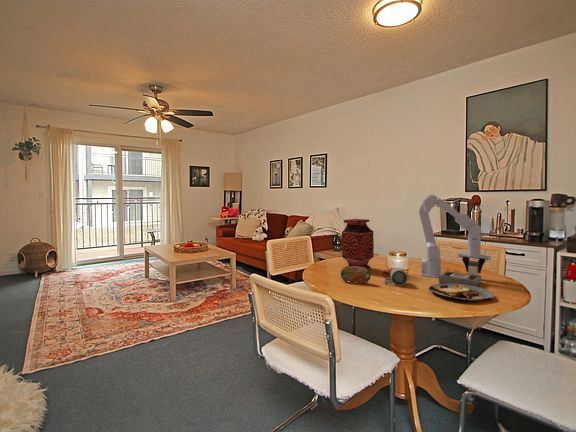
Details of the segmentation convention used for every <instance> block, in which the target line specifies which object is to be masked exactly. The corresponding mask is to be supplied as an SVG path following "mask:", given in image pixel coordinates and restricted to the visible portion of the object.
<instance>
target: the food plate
mask: <svg viewBox="0 0 576 432" xmlns="http://www.w3.org/2000/svg"><path fill="white" fill-rule="evenodd" d="M428 290H429V291H431V292H432V293H434V294H437V295H438V296H442V297H445V298H449V299H455V300H460V301H461V300H462V301H465V300H466V301H468V302H469V301H470V302H481V301H483V300H484V301H485V300H487V299H490V298H491V299H493V298H495V295H494V294H493V292H492V291H490V290H488V289H486V288H483V287H481V286H480V287H479V286H477V287H476V286H470V285H465V284H451V283H447V284H446V283H445V284H444V283H437V284H431V285H430V286H429V287H428Z"/></svg>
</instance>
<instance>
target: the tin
mask: <svg viewBox="0 0 576 432" xmlns="http://www.w3.org/2000/svg"><path fill="white" fill-rule="evenodd" d="M346 266H347V267H346ZM346 266H345V267H343V268H342V269H341V270H340V277H341V279H342V280H343V281H344V282H345V281H350V282H357V283H356V284H358V283H365V284H368V283H369V281H370V280H371V276H372V275H371V271H370V269H367V268H365V267H355V266H348V265H346Z"/></svg>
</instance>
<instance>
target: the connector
mask: <svg viewBox="0 0 576 432" xmlns="http://www.w3.org/2000/svg"><path fill="white" fill-rule="evenodd" d="M478 268H479V265H478V260H469V262H468V272H467V274H470V275H477V276H480V274H479V273H478Z"/></svg>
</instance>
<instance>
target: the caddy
mask: <svg viewBox="0 0 576 432" xmlns="http://www.w3.org/2000/svg"><path fill="white" fill-rule="evenodd" d="M440 283H443V284H445V283H446V284H447V283H451V284H465V285H470V286H476V287H479V286H480V285H481V284H482V275H479V276H477V275H470V274H468V273H462V272H455V271H444V272H443V273H441V275H439V278H438V284H440Z"/></svg>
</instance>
